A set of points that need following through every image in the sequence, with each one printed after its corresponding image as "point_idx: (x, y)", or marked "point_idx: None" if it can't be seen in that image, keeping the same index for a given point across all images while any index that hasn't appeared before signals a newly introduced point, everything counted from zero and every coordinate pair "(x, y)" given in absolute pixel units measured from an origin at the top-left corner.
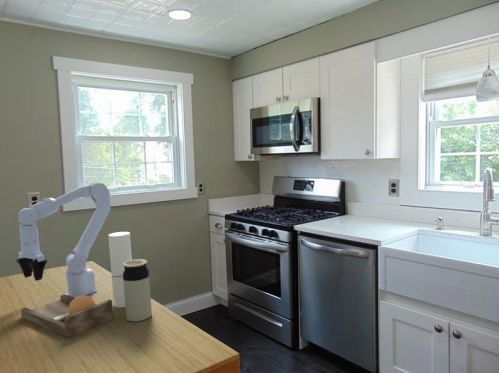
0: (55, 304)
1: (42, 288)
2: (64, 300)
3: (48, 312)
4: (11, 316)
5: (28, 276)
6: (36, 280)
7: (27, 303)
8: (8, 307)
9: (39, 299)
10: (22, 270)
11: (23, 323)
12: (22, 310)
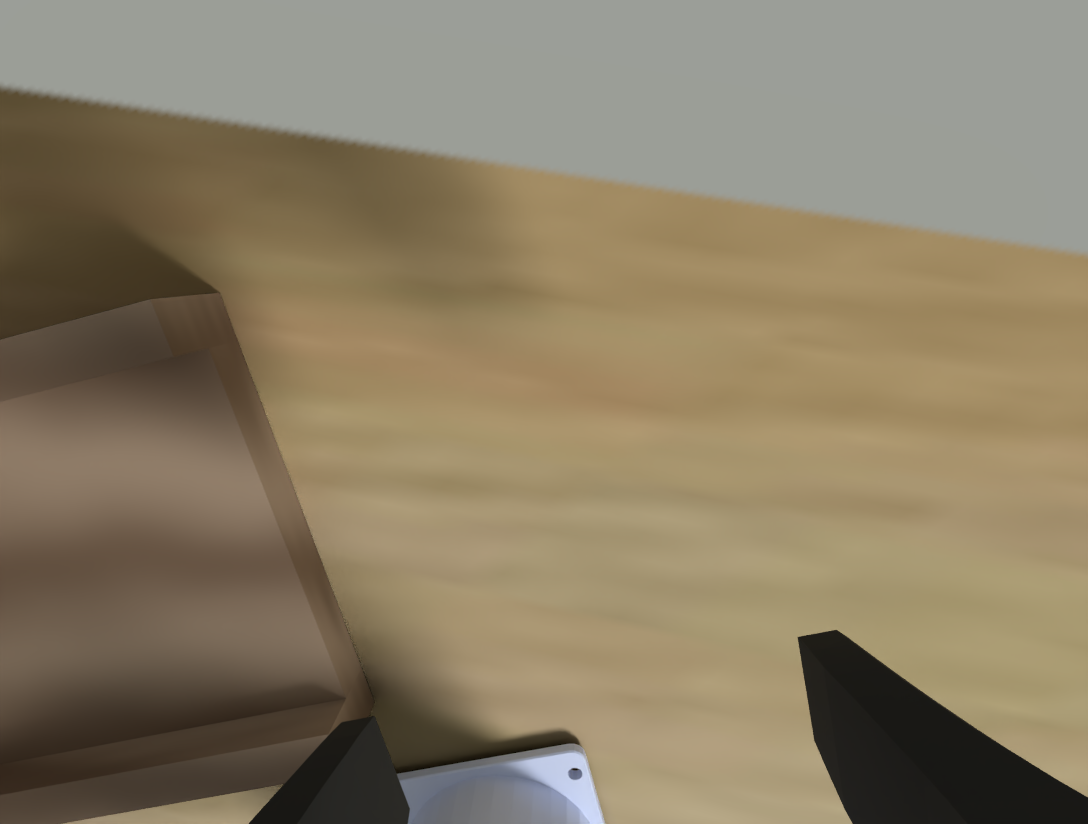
0: (229, 625)
1: (1067, 668)
2: (274, 715)
3: (27, 519)
4: (350, 215)
5: (807, 694)
6: (332, 731)
7: (661, 435)
8: (708, 241)
9: (686, 556)
10: (968, 741)
11: (40, 276)
12: (113, 310)
